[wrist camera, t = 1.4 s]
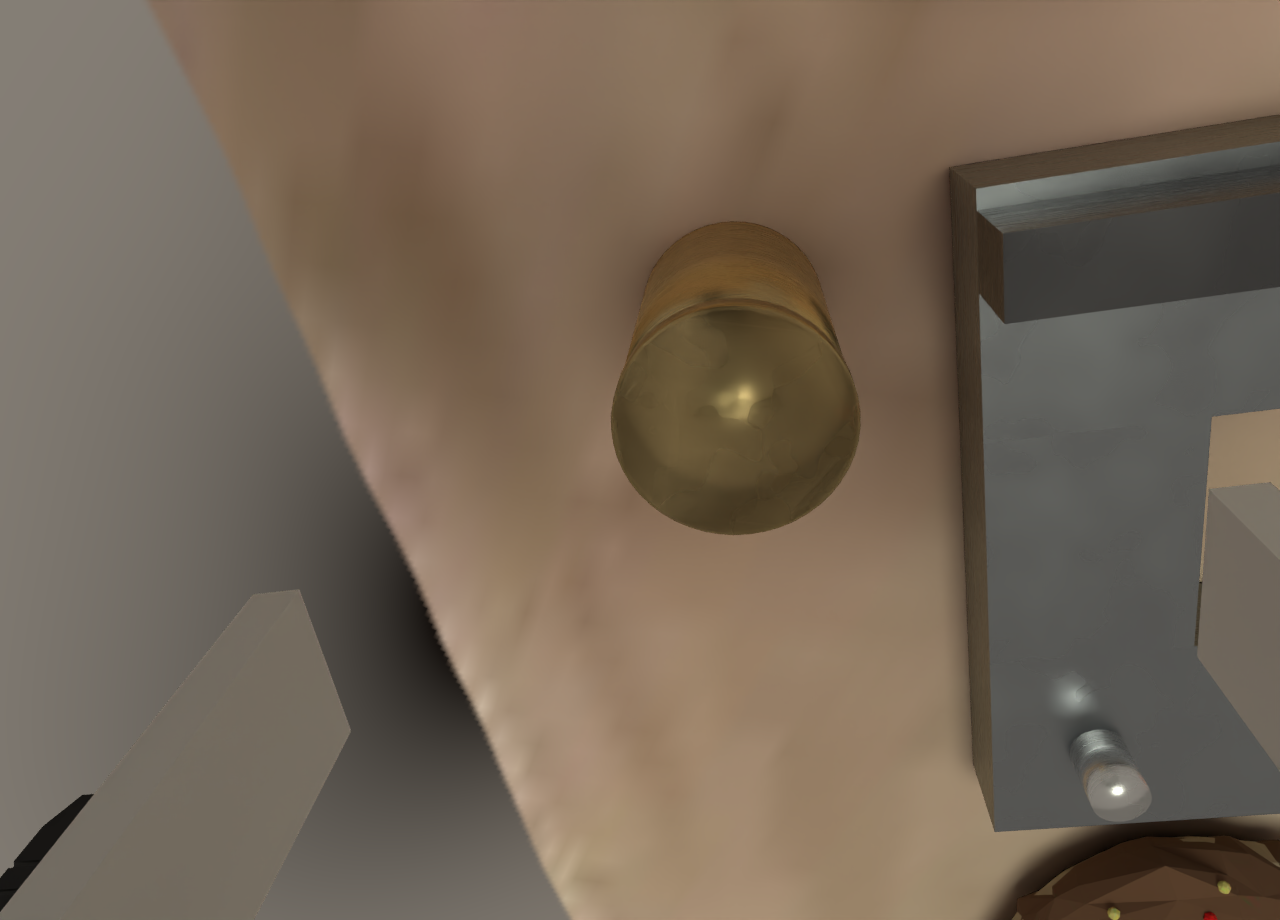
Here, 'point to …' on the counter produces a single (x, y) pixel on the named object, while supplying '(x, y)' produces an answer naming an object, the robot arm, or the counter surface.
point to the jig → (1108, 464)
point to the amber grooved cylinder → (734, 385)
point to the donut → (1165, 882)
